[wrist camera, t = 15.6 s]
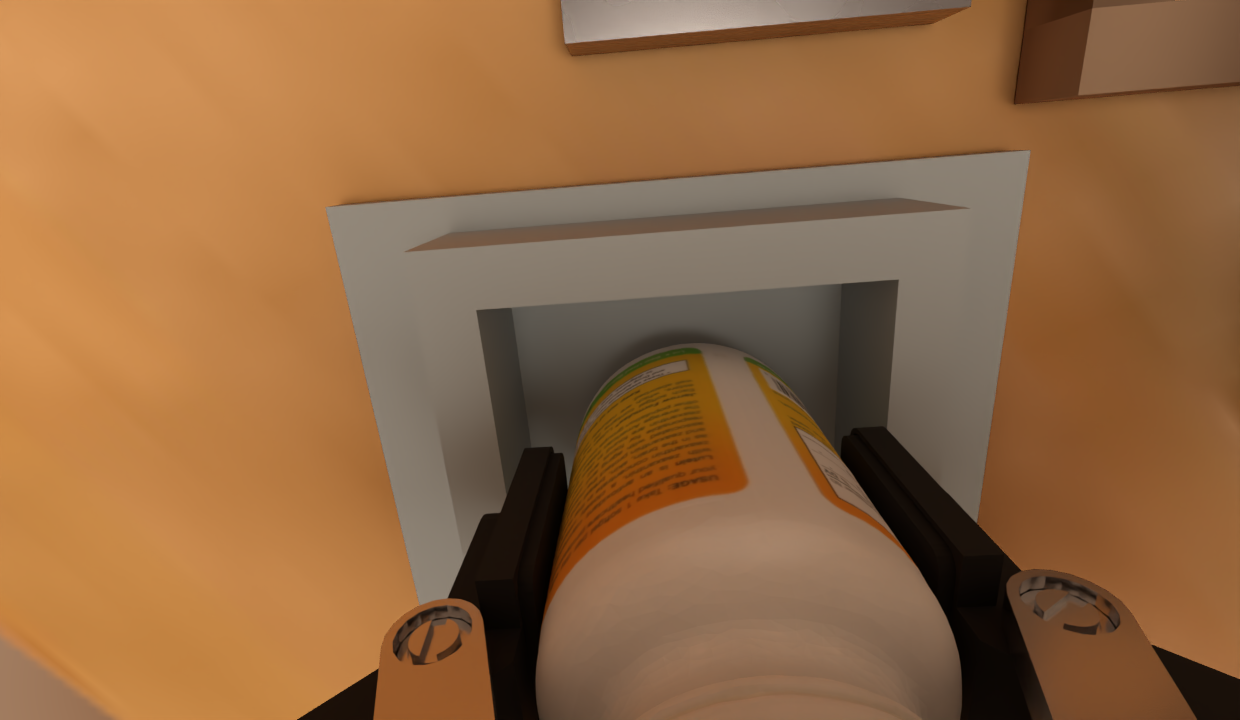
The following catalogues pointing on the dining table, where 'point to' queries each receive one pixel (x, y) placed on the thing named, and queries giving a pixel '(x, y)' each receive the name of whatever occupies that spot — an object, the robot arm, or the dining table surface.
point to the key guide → (731, 20)
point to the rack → (676, 315)
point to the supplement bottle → (729, 563)
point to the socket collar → (1127, 48)
